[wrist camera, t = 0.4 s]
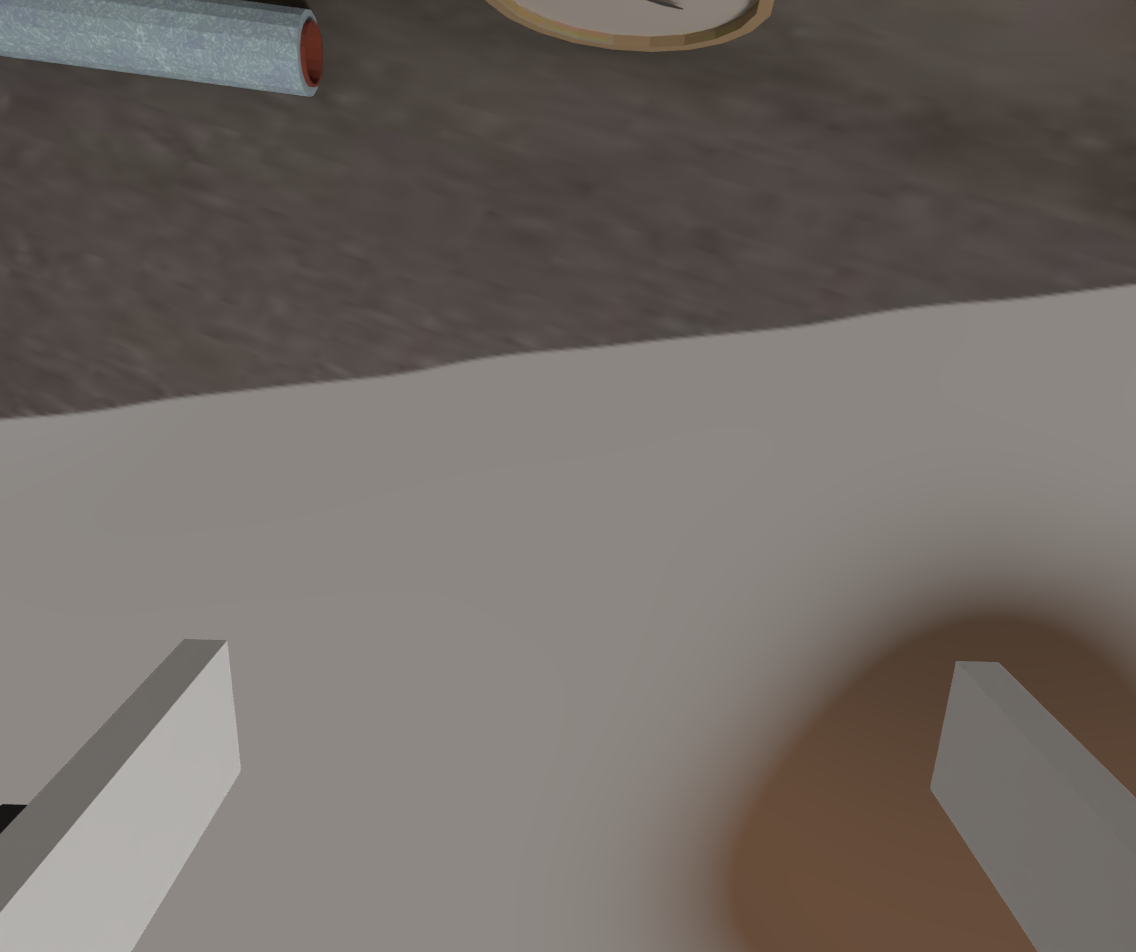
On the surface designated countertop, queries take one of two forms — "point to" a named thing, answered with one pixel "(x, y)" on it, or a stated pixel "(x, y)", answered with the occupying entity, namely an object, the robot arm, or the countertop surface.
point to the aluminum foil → (172, 40)
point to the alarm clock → (639, 21)
